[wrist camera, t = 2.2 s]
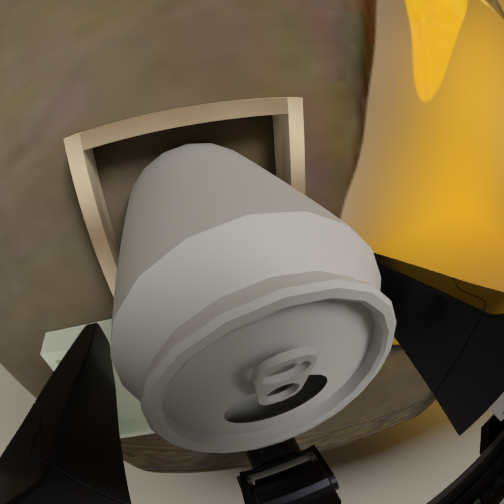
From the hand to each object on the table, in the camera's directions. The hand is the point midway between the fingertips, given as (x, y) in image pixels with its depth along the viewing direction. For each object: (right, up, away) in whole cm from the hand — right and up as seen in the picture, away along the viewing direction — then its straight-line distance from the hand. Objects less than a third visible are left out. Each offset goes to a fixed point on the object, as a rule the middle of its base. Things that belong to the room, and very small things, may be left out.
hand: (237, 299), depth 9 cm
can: (-3, +4, +7) cm, 8 cm away
